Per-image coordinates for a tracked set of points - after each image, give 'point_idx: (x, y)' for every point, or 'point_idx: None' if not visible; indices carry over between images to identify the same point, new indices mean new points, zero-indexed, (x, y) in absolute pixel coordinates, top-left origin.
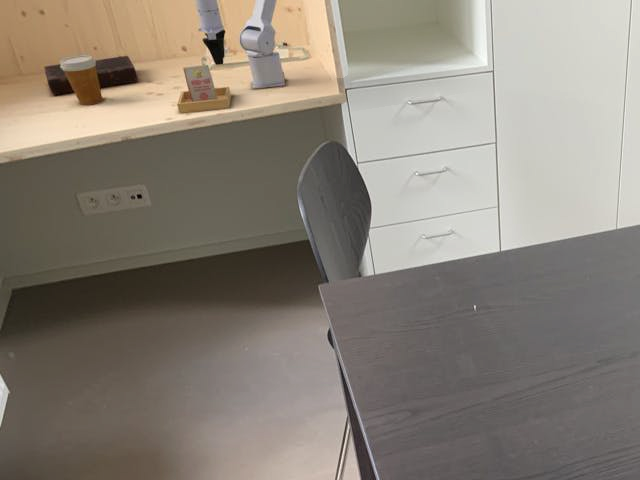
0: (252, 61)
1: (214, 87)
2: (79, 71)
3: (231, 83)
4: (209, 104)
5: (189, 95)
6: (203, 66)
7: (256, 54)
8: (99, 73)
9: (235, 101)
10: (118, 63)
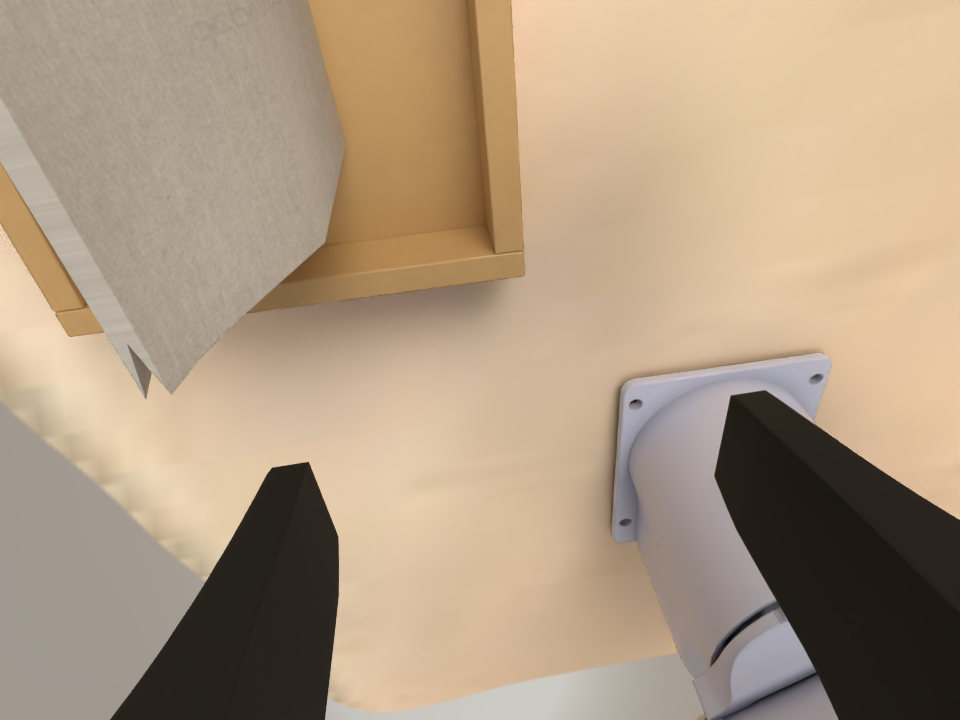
0: (736, 574)
1: (333, 191)
2: None
3: (920, 169)
4: None
5: None
6: (97, 313)
7: (729, 675)
8: None
9: (307, 306)
10: None
